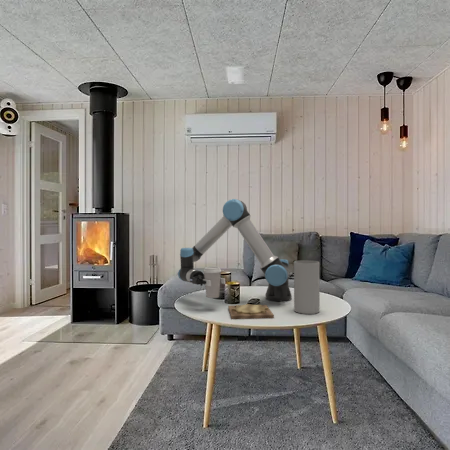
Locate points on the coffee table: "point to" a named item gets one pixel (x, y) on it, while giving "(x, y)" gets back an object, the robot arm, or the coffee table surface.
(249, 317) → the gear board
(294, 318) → the coffee table surface
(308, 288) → the cylinder vase
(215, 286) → the coffee cup
